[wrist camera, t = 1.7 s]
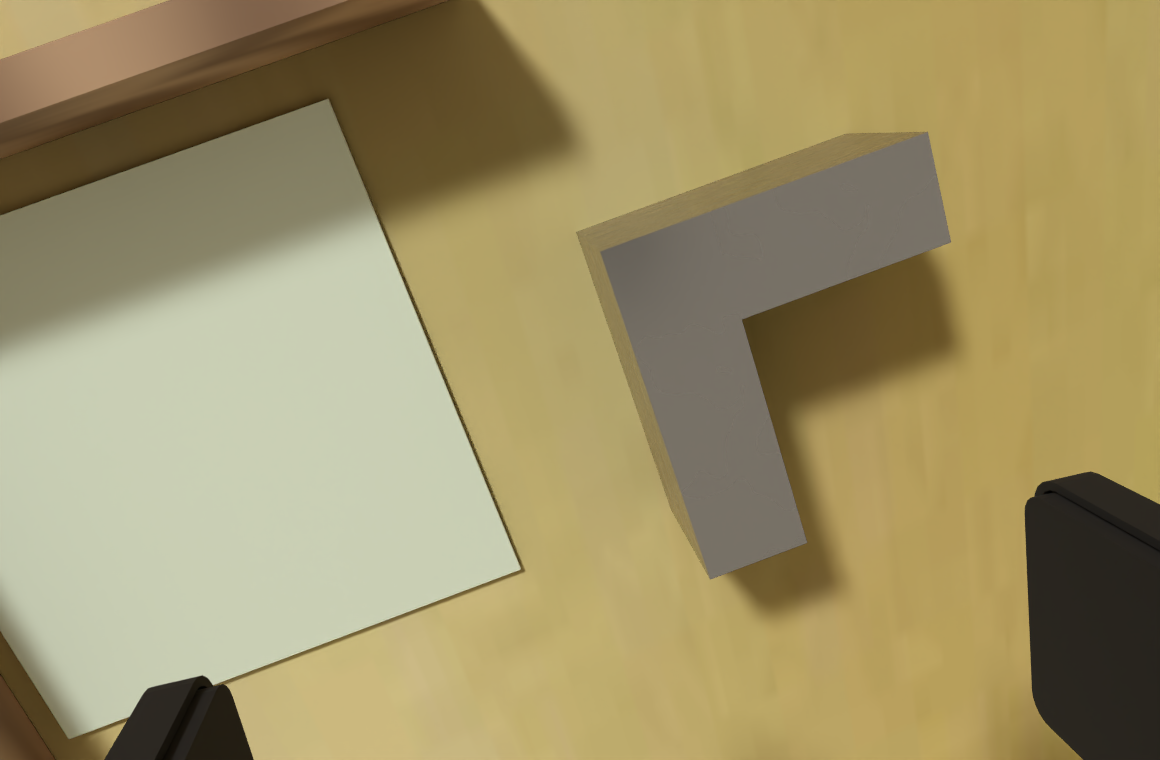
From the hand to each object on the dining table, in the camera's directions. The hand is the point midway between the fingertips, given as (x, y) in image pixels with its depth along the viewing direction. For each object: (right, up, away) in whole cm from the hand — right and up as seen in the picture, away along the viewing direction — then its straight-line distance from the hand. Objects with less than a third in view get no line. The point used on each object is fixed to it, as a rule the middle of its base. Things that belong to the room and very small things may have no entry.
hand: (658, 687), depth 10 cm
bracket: (+5, +5, +19) cm, 20 cm away
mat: (-13, +2, +17) cm, 22 cm away
